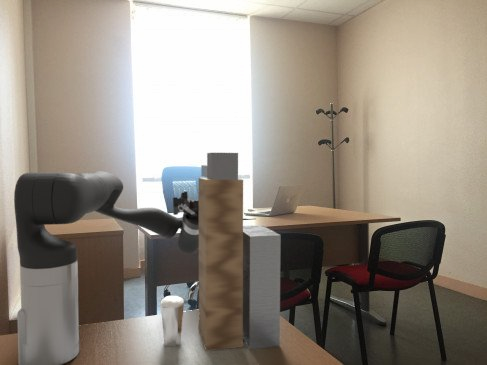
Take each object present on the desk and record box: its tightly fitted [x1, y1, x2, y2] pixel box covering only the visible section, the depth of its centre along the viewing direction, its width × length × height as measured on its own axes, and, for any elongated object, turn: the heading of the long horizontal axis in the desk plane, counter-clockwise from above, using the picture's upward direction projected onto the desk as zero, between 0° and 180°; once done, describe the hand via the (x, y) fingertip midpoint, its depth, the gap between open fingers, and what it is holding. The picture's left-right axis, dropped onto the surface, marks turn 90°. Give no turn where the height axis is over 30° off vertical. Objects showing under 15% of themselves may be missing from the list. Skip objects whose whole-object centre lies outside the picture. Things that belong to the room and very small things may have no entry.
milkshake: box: [160, 293, 188, 348], centre depth 77 cm, size 4×5×10 cm
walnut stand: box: [198, 177, 244, 351], centre depth 79 cm, size 7×10×32 cm
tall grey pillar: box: [242, 224, 282, 350], centre depth 81 cm, size 6×12×22 cm, turn 14°
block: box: [200, 152, 239, 180], centre depth 82 cm, size 5×19×5 cm, turn 14°
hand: (203, 193), depth 100 cm, fingers open, 8 cm apart
